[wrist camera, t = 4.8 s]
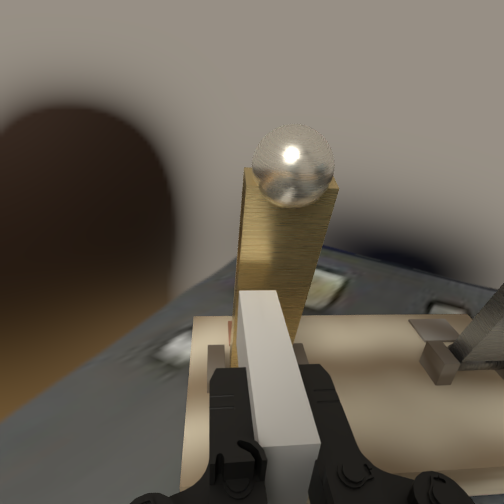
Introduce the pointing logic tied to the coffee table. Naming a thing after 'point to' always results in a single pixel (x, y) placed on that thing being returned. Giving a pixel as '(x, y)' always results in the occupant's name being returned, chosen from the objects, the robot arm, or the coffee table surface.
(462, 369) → the lever slate
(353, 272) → the coffee table surface
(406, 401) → the console
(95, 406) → the coffee table surface
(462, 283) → the coffee table surface
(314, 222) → the lever brass
